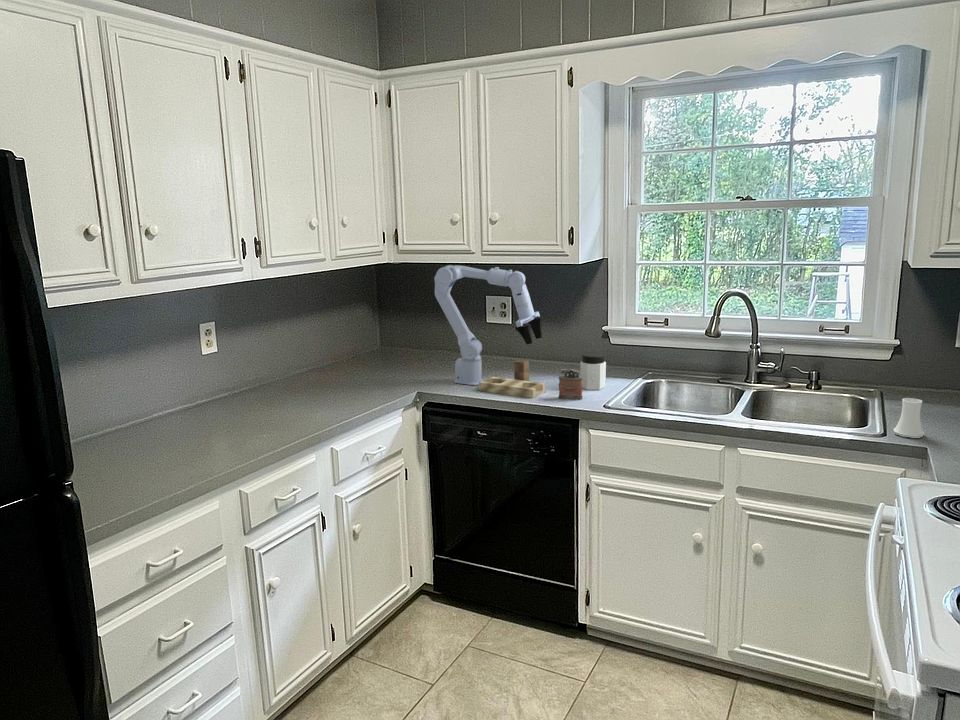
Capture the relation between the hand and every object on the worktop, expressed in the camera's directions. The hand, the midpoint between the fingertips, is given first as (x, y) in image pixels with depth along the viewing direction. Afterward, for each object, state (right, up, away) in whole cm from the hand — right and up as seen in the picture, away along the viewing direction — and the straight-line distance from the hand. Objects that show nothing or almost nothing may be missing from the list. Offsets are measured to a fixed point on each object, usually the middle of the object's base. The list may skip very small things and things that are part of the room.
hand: (534, 340), depth 263 cm
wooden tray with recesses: (-8, -18, -5) cm, 20 cm away
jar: (+21, -17, -1) cm, 27 cm away
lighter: (+11, -20, -15) cm, 27 cm away
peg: (-4, -15, +8) cm, 17 cm away
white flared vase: (+100, -28, -58) cm, 119 cm away
